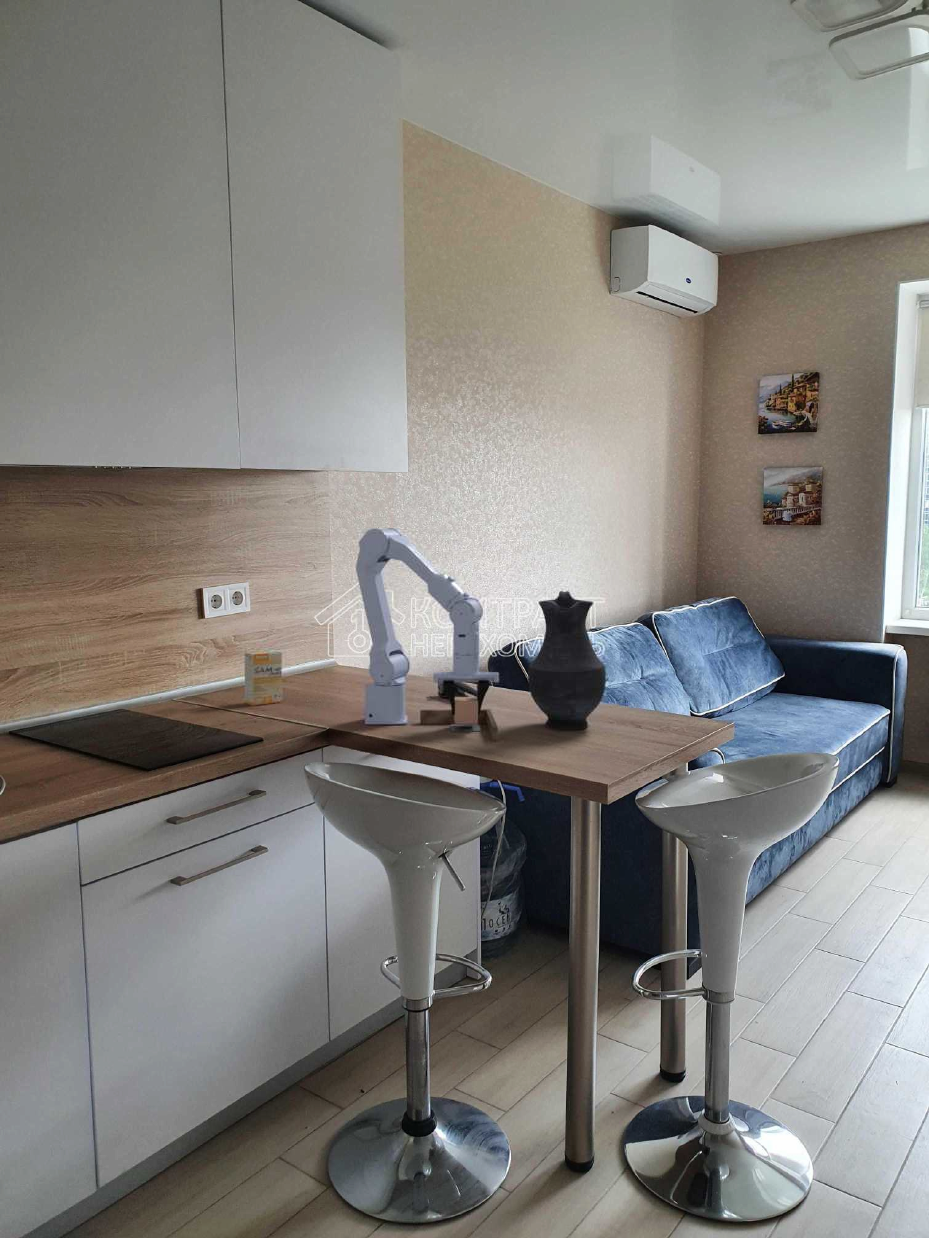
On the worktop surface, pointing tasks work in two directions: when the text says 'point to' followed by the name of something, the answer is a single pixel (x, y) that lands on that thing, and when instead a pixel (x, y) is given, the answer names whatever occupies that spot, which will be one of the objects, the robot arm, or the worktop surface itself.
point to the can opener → (457, 690)
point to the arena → (447, 717)
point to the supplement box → (263, 677)
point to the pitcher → (566, 666)
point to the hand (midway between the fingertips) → (465, 714)
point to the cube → (466, 710)
